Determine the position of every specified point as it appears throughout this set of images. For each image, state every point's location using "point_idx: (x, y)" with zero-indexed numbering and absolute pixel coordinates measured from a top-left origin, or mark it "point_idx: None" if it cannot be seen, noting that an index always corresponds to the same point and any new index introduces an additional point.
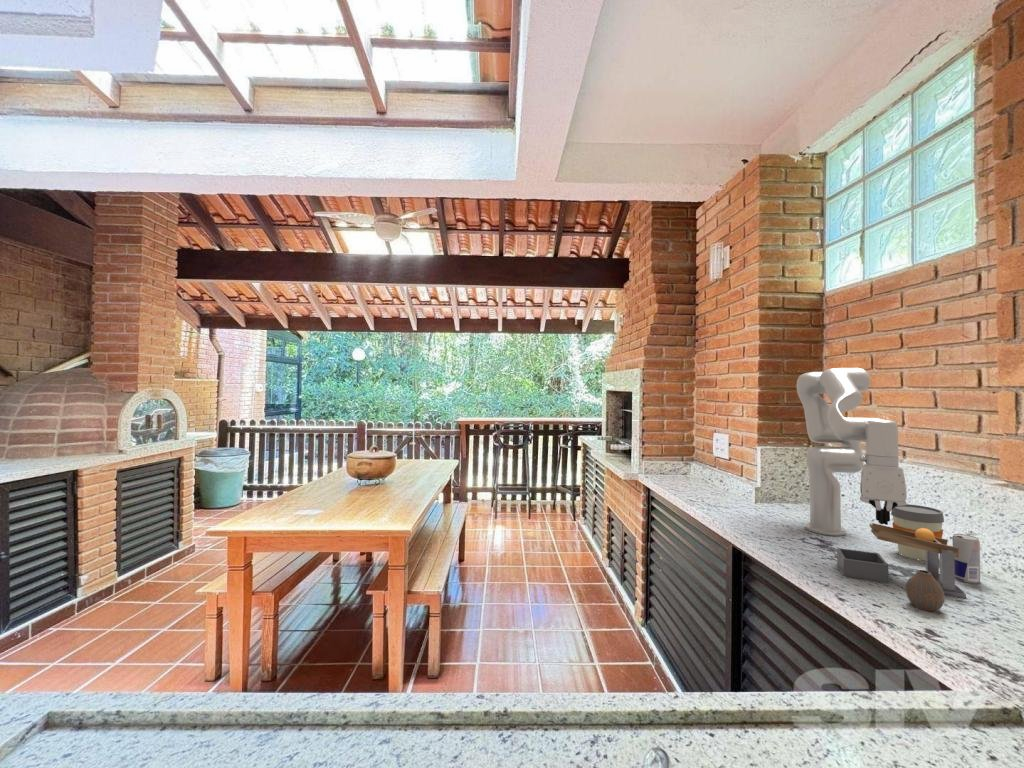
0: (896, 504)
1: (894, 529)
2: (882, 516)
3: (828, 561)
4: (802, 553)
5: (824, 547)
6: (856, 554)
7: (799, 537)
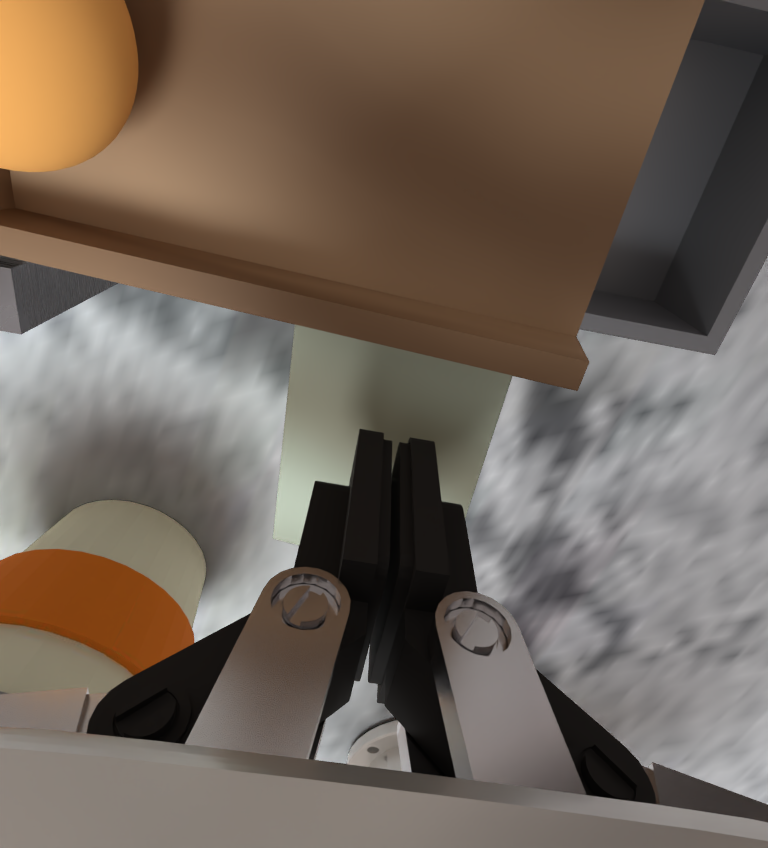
0: (114, 715)
1: (331, 297)
2: (421, 500)
3: (679, 355)
4: (758, 455)
5: (557, 572)
6: (589, 305)
7: (606, 673)
